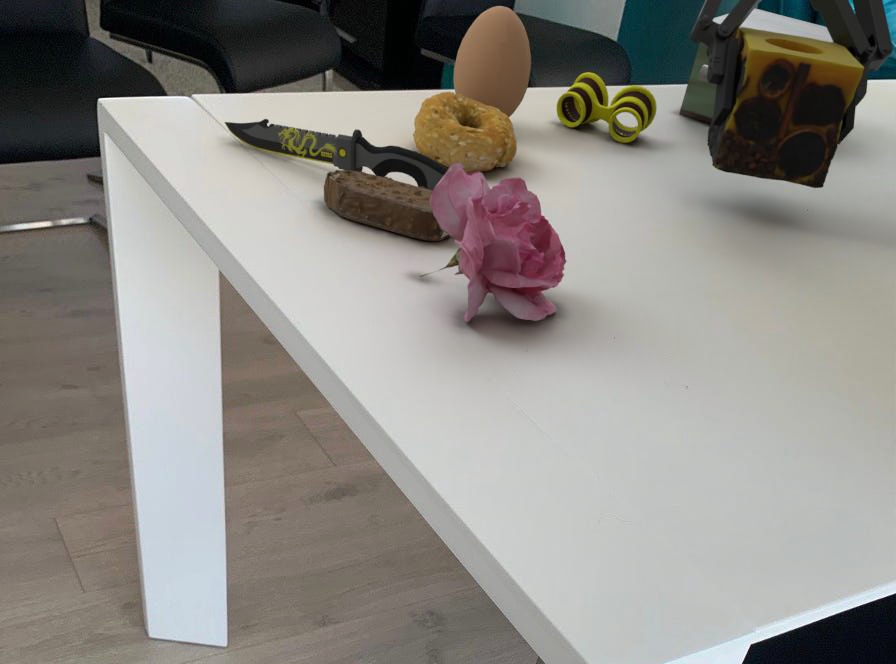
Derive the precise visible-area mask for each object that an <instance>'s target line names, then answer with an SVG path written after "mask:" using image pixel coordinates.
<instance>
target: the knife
mask: <svg viewBox="0 0 896 664" xmlns="http://www.w3.org/2000/svg"><path fill="white" fill-rule="evenodd" d="M224 124H225V126H226V128H227V130H229V132H230V133H231V134H232V135H233V136H234V137H235V138H237V139H238V140H239V141H241V142H242V143H244V144H246V145H248V146H249V147H251V148H254V149H256V150H259V151H264V152H269V153H273V154H277V155H281V156H286V157H293V158H297V159H303V160H307V161H313V162H318V163H323V164H329V165H333V167H335V168H336V167H337V168H338V170H349V171H357V172H363V169H364V168H367V169H369V170H370V171H372V173H373V175H376V176H380V177H387V175H388V174H391V173H400V174H401V173H402V174H404V175H406V176H409V177H411V178H412V179H413V180H414V181H415V183H416V186H417V187H422V186H424V187H425V188H426V189H428V190H432V191H433V190H434V188H435V187H436V185H437V184H438V183H439V181H440V180H441V179H442V177H443V176H444V175H445V173H446V172H447V171H448V169H449V168H448V167H446V166H444V165H442V164H440V163H438V162H436V161H434V160H433V159H431V158H429V157H427V156H425V155H423V154H420V152H418V151H415V150H411V149H408V148H405V147H402V146H400V145H399V146H398V145H386V146H385V145H384V146H376V145H374V144H371V143H370V141H368V140H367V139H366V138H365V137H364V136H363V134H362V131H361V130H360V129H358V128H357V129H354V130H353V132H352V135H347V134H341V133H339V134H338V135H336V134H333V133H327V132H320V131H315V130H309V129H306V128H305V129H304V128H299V127H298V128H297V127H295V126H287V125H281V124H275V123H270V120H269V119H268V118H263V119H262V120H260V121H253V122H251V121H250V122H230V121H224ZM268 124H269V125H268Z"/></svg>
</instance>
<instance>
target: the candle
mask: <svg viewBox="0 0 896 664" xmlns="http://www.w3.org/2000/svg"><path fill="white" fill-rule="evenodd" d="M736 38H739V44H738V54H737V63H736V73H735V82H734V92H733V102H732V110H731V111H730V113H729V114H728V116H727V117H726V119H725V120H724V122H723V123H722V125H721V126H716V125H712V124H713V119H712V123H710V126H709V128H708V132H707V139H706V142H707V143H706V144H707V146H708V151H709V155H710V157H711V161H712V164H711V165H712V167H713V168H715V169H716V170H719V171H721V172H724V173H729V174H735V175H742V176H747V177H752V178H758V179H764V180H773V181H782V182H783V181H784V182H787V183H792V184H797V185H801V186H804V187H805V186H806V187H809V188H813V189H821V188H824V185H825V182H826V179H827V176H828V174H829V170H830V167H831V164H832V160H833V159H834V157H835V154H836V152H837V150H838V145H839V144H838V140H839V136H840V131H841V126H842V120H843V117H844V115H845V114H846V110H847V108H848V106H849V104H850V103H851V101H852V100H853V97H854V94H855V91H856V88H857V86H858V84H859V82H860V80H861V78H862V74H863V70H864V67H863V66H862V65H861V64H860V63H859V62H858V61H857V60H856V59H855V58H854V57H853V56H852V55H851V53H850V52H849V51H848V50H847V49H846V48H845V47H844V46H841V45H839V44H837V43H832V42H827V41H822V40H817V39H812V38H806V37H800V36H794V35H788V34H782V33H776V32H769V31H763V30H757V29H752V28H746V27H739V28H738V32H737V35H736Z"/></svg>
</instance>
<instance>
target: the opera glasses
mask: <svg viewBox="0 0 896 664" xmlns="http://www.w3.org/2000/svg"><path fill="white" fill-rule="evenodd" d="M622 113H628V114H630V115H632V116H633V117H634V118H635V120H636V122H637V126H626V125H624V124H622V123H621V122H620V121H619V120H618V117H617V116H618V115H620V114H622ZM556 114H557V117H558V120H559V121H560V122H561V123H562V124H563V125H564V126H565V127H568V128H576V127H578V126H580V125H584V124H592V123H593V124H594V123H597V122H599V121H600V120H601V121H603V122H606V123H607V124H608V131H609V134H610V136H611V137H612V138H613V139H614V140H615V141H616V142H619V143H621V144H627V143H630V142H633V141H635V140H636V139H637V138H638V137H639V135H640V134H641V132H643V131H645V130H646V129H647V128H648V127H650V125H651V124H652V123H653V122H654V119H655V118H656V114H657V101H656V99H655V96H654V94H653V93H652V92H651V91H650V90H649V89H647V88H646V87H644V86H641V85H629V86H626V87H623V88H621V89H620V90H619V91H618V92H617V93H616V94H615V95H614V96H613V98H612V100H611V102H610V105H609V92H608V88H607V86H606V84H605V82H604V81H603V79H602V78H601V76H599V75H598V74H596V73H593V72H590V71H589V72H587V71H586V72H583V73H581V74H579V76H577V78H576V79H575V81H574V82H573V84H572V85H571V86H570V87H569V88H568V90H567V91H566V92H565V93H563V94H561V95H560V97H559V98H558V99H557V103H556Z"/></svg>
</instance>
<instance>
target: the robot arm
mask: <svg viewBox="0 0 896 664" xmlns="http://www.w3.org/2000/svg"><path fill="white" fill-rule="evenodd" d="M722 1H723V0H704V3H703V5H702V7H701V10H700V12H699V14H698V16H697V18H696V21H695V22H694V25H693V28H692V29H691V31H690V34H689V39H690V41H691V42H692V43H694V44H699V43H700V42H702V43H704V44H706V45H707V46H708V47H707V49H706V55H707V56H708V57H709V62H708V72H707V80H708V83H711V84H717V87H716V96H715V105H714V115H713V124H712V125H716V126H721V125H722V123H723V122H724V120H725V119H726V117H727V116H728V114H729V113H730V111H731V110H732V102H733V92H734V82H735V73H736V63H737V54H738V44H739V38H733V37H732V36H733V35H734V33H735V32H736V31H737V30H738V28H739V27H740V26H741V25H742V23H743V22H744V21H745V20H746V18H747V17H748V16H749V15H750V13H751V12H752V11H753V10H754V8H755V9H756V8H757V6H758V5H759V3H760V2H762V1H763V0H739V1H737V3H736V4H735V5H734V7H733V8H732V9H731V10H730V12H729V13H727V14H728V16H727V17H726V18H725V19H724V21H723V22H722V23H721V24H718V23H716V22H714V21H713V19H714V18H715V16H716V14H717V12H718V10H719V8H720V5H721V3H722ZM851 1H852V4H851V3H850V0H809V2H810V5H811V6H812V9H813V10H814V11H815V12H819V15H820V17H821V19H822V21H823V23H824V25H825V27H827V29H828V32H829V34H830V36H831V38H832V40H833V42H834V43H837V44H839V45H841V46H844V47H845V48H846V49H847V50H848V51H849V52H850V53H851V55H852V56H853V57H854V58H855V59H856V60H857V61H858V62H859V63H860V64H861V65H862V66H863V67H864V70H863V74H862V78H861V80H860V82H859V84H858V86H857V88H856V91H855V94H854V97H853V100H852V101H851V103H850V104H849V106H848V108H847V110H846V114H845V115H844V117H843V120H842V126H841V131H840V136H839V140H838V145H841V143H842V142H843V141H844V140H845V139H846V137H848V136H849V134H850V133H851V132H852V131H854V128H855V119H856V109H857V108H856V107H857V106H858V105H859V104H860V103H861V102H862V101H863V99H864V98H865V97H866V94H867V92H868V81H869V72H876V71H878V70H879V69H880V67H881V66H883V64H884V63H885V62H886V60H887V59H888V58H889V57H890V56H891V54H892V53H893V51H894V48H893V43H892V39H891V32H890V29H889V24H888V23H889V22H888V19H887V15H886V10H885V6H884V0H851ZM852 5H853V7H852Z"/></svg>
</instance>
